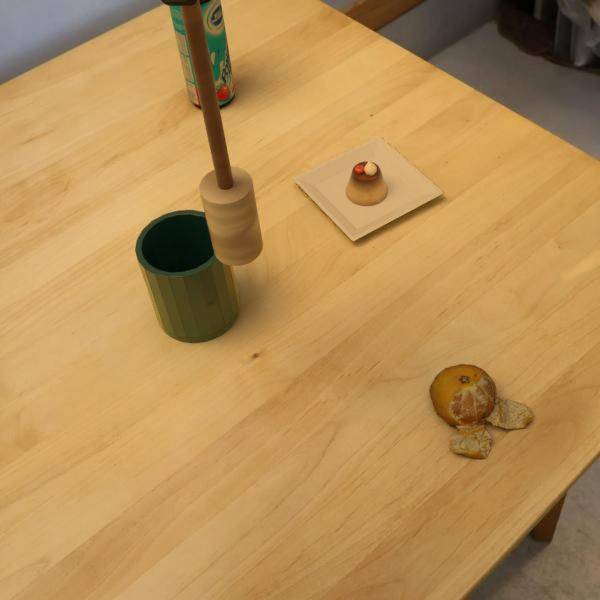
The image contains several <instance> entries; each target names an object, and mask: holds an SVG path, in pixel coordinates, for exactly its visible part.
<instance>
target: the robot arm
mask: <svg viewBox="0 0 600 600" xmlns="http://www.w3.org/2000/svg"><path fill="white" fill-rule="evenodd" d="M160 1H161V2H162V3H163V4H164V5H166V6H168V7H169V6H193V5H195V4H196V2H197V0H160Z"/></svg>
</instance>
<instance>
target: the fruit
mask: <svg viewBox="0 0 600 600" xmlns="http://www.w3.org/2000/svg"><path fill="white" fill-rule="evenodd" d="M428 392H429V395H430V400H431V401H432V405H433V409H434V411H435V412H436V414H437V416H439V417H441V418H442V419H443V420H444V421H445V423H446V425H450V426H455V427H456V429H457V430H458V433H457V434H456V436H454V437H453V438H450V440H449V447H450V450H451V451H452V452H453V453H455V454H457V455H463V456H466V457H468V458H470V459H480V460H483V459H485V460H486V458H487V457H489V452H490V451H491V445H490V444H491V441H492V436H491V435H490V434H489V432H488V430H487V429H486V428H485V427H486V425H485V424H486V423H487V422H488V423H489V422H490V423H492V426H496V427H500V428H502V429H506V430H518V429H522V428H525V427H527V425H528V424H529V423H530V422H531V421H532V419H533V417H532V416H533V412H532V408H530V406H528V405H526V404H525V403H522V402H518V401H515V400H511V399H502V398H500V397H497V385H496V382H495V381H494V380H493V379H492V377H491V376H490V375H489V373H488V372H486V371H485V370H484V369H483V368H481V367H479V366H477V365H475V364H467V363H459V364H455V365H451V366H447V367H444V369H442V370H441V371H440V372H438V373H437V374H436V375H435V376H434V379H433V381H431V384H430V385H429V389H428Z"/></svg>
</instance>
